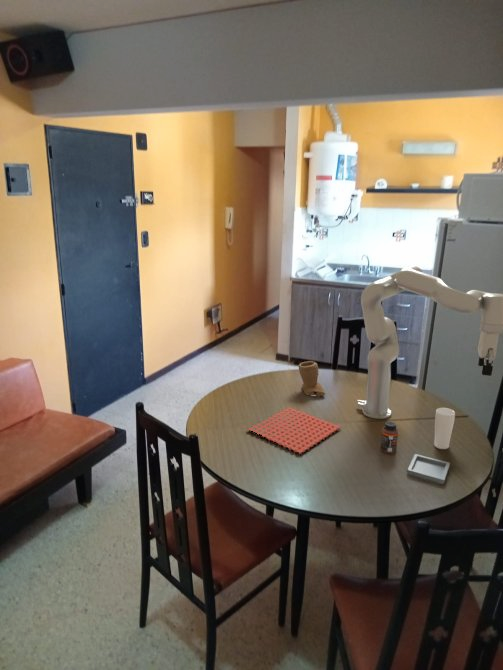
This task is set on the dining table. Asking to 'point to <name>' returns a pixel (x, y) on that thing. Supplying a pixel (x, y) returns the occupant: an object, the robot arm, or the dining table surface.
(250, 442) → the dining table surface
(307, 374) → the tan boot-shaped piece
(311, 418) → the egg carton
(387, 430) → the supplement bottle
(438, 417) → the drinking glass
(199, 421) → the dining table surface
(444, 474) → the tray
